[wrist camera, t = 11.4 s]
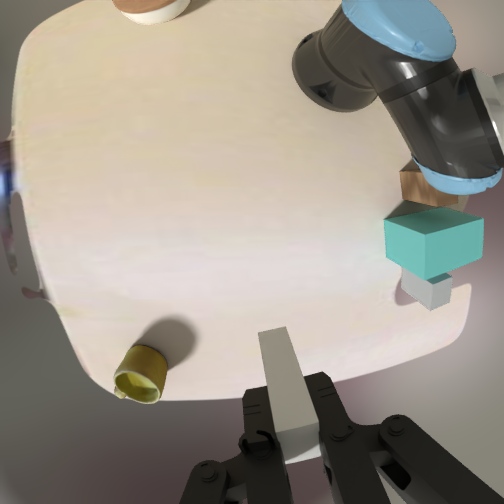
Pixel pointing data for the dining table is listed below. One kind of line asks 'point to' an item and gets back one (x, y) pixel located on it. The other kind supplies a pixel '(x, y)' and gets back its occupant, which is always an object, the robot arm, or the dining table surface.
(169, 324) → the dining table surface
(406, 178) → the walnut block
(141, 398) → the mug
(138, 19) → the lidded bowl
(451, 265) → the teal block
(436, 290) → the grey block
